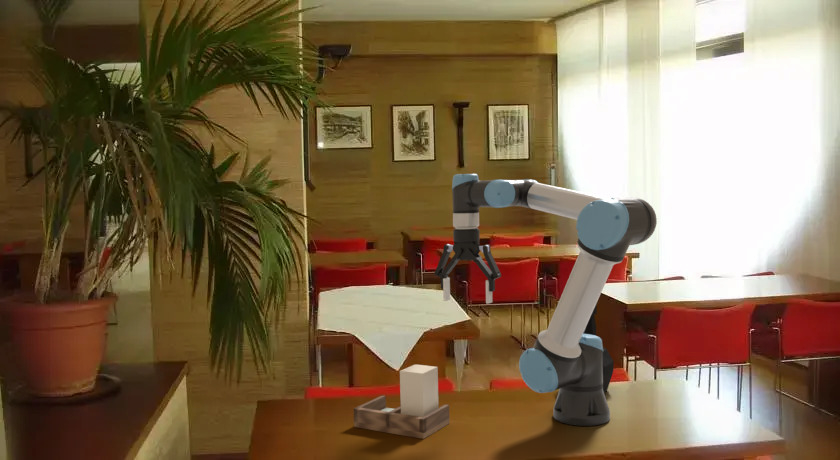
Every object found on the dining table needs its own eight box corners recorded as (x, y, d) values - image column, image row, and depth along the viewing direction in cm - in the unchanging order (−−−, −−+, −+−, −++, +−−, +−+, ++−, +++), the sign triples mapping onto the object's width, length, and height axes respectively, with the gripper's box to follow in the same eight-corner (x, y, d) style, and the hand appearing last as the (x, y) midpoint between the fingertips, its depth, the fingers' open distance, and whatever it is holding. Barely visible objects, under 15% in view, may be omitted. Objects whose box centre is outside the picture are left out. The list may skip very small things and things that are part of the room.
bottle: (616, 384, 236) (616, 290, 235) (610, 399, 221) (609, 298, 219) (566, 381, 242) (565, 289, 240) (556, 394, 227) (555, 296, 225)
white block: (438, 418, 201) (437, 366, 200) (424, 426, 194) (422, 373, 193) (416, 414, 205) (415, 364, 204) (401, 423, 198) (399, 370, 197)
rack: (449, 423, 202) (449, 405, 202) (423, 438, 190) (423, 419, 190) (382, 412, 213) (382, 395, 213) (354, 426, 201) (353, 408, 201)
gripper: (511, 227, 211) (513, 302, 212) (434, 226, 223) (436, 297, 224) (500, 229, 204) (502, 306, 205) (422, 228, 217) (423, 300, 218)
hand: (467, 301), depth 215 cm, fingers open, 13 cm apart
